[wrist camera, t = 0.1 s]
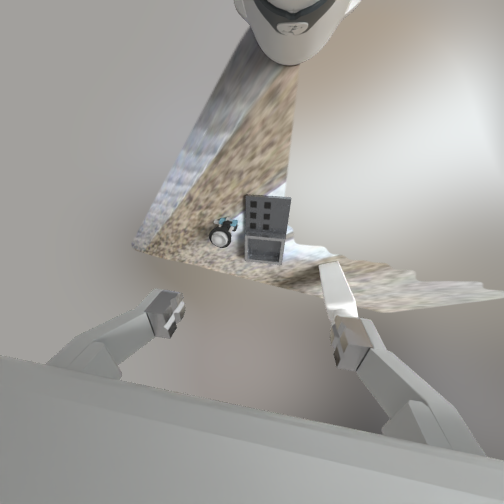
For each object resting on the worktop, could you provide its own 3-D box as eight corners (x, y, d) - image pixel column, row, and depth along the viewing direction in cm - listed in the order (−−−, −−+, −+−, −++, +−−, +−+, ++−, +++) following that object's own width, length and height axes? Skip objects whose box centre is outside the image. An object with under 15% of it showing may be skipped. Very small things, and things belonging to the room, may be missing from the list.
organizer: (246, 194, 46) (243, 199, 43) (291, 197, 45) (291, 202, 42) (246, 257, 58) (244, 265, 55) (281, 261, 56) (281, 269, 53)
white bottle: (320, 279, 58) (335, 348, 40) (316, 263, 55) (330, 331, 37) (343, 275, 56) (369, 347, 38) (339, 258, 53) (366, 329, 35)
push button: (215, 227, 53) (202, 247, 45) (215, 210, 50) (201, 227, 42) (238, 231, 53) (229, 251, 45) (239, 214, 49) (230, 232, 41)
